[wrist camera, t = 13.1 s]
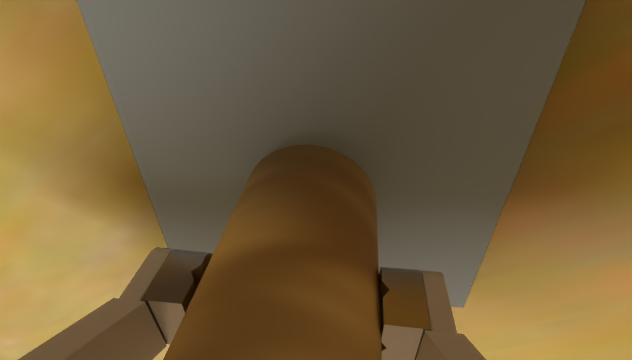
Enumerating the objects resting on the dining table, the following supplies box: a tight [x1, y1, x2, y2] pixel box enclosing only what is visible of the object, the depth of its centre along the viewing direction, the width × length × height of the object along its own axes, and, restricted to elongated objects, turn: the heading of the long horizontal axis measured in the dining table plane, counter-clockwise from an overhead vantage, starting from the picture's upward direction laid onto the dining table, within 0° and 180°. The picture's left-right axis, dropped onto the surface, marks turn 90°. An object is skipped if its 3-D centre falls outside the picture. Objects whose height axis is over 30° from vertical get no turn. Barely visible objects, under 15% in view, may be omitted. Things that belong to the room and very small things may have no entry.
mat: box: [77, 0, 586, 307], centre depth 13 cm, size 14×14×1 cm
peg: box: [163, 145, 382, 360], centre depth 9 cm, size 4×4×8 cm
